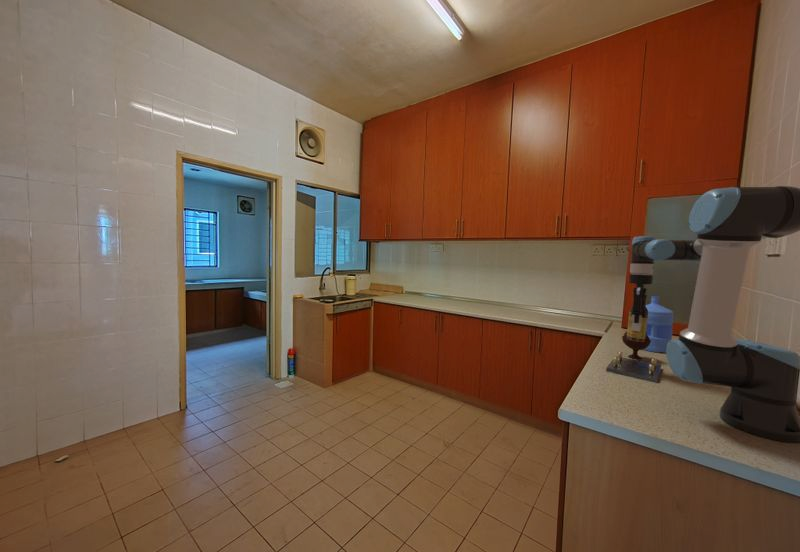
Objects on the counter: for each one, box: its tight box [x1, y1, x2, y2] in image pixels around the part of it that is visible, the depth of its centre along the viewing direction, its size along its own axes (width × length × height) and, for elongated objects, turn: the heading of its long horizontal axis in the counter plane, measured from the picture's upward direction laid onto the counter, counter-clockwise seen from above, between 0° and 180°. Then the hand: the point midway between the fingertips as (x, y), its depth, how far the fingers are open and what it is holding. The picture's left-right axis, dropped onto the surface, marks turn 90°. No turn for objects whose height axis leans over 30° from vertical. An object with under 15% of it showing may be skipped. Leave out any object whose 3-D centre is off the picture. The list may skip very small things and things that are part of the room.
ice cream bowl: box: [621, 330, 651, 361], centre depth 145 cm, size 11×11×15 cm
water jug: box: [643, 295, 675, 354], centre depth 162 cm, size 16×16×28 cm
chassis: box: [605, 351, 662, 384], centre depth 129 cm, size 22×16×5 cm
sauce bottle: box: [626, 293, 648, 342], centre depth 128 cm, size 6×6×20 cm
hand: (637, 329), depth 128 cm, fingers closed on sauce bottle, 6 cm apart
